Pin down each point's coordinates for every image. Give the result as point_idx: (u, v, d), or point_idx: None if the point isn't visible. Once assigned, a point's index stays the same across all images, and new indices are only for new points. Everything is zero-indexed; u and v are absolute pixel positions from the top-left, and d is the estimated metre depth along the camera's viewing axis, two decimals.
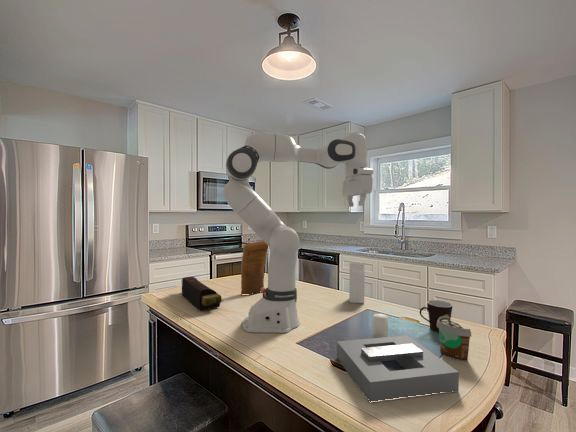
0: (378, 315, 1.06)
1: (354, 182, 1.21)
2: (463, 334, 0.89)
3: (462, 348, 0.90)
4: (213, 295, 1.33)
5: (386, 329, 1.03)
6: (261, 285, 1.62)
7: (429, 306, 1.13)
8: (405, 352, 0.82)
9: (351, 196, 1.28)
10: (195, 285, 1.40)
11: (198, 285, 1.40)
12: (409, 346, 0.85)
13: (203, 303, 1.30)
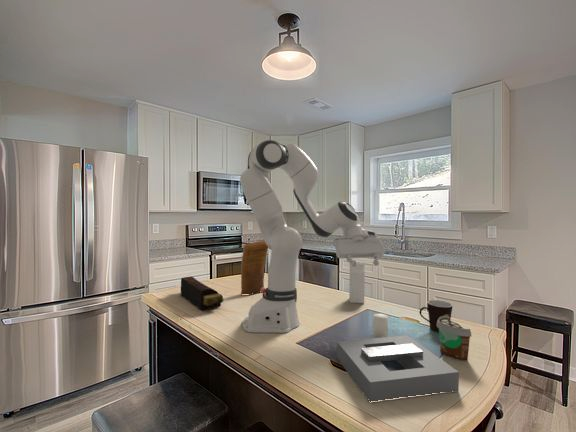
0: (378, 315, 1.06)
1: (363, 243, 1.23)
2: (463, 334, 0.89)
3: (462, 348, 0.90)
4: (214, 295, 1.33)
5: (386, 329, 1.03)
6: (261, 285, 1.62)
7: (429, 306, 1.13)
8: (405, 352, 0.82)
9: None
10: (195, 285, 1.40)
11: (199, 285, 1.40)
12: (409, 346, 0.85)
13: (205, 303, 1.30)
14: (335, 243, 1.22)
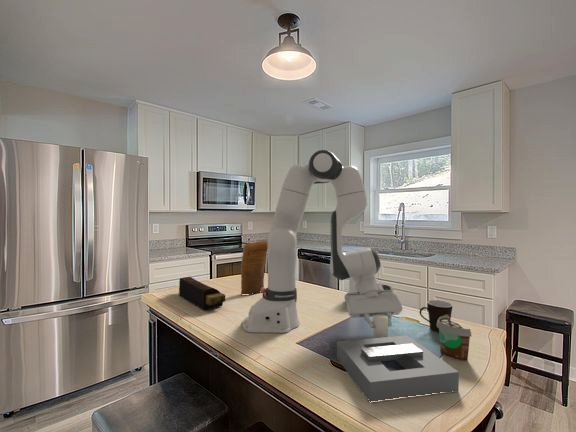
0: (378, 315, 1.06)
1: (377, 299, 1.10)
2: (463, 334, 0.89)
3: (462, 348, 0.90)
4: (217, 294, 1.34)
5: (386, 329, 1.03)
6: (261, 285, 1.62)
7: (429, 306, 1.13)
8: (405, 352, 0.82)
9: None
10: (197, 285, 1.41)
11: (200, 285, 1.40)
12: (409, 346, 0.85)
13: (208, 302, 1.31)
14: (347, 299, 1.10)
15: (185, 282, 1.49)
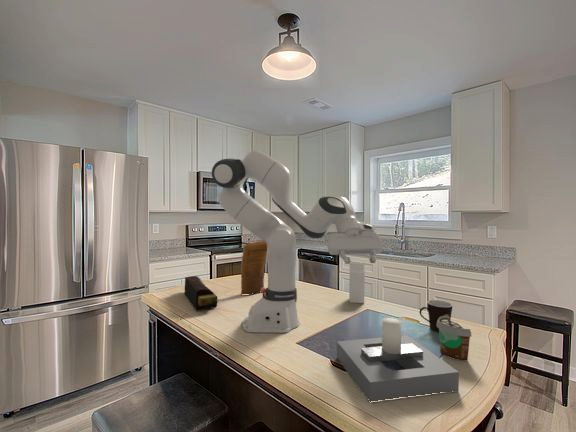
0: (388, 320, 0.83)
1: (358, 238, 1.08)
2: (463, 334, 0.89)
3: (462, 348, 0.90)
4: (209, 295, 1.32)
5: (399, 338, 0.81)
6: (261, 285, 1.62)
7: (429, 306, 1.13)
8: (405, 352, 0.82)
9: None
10: (194, 285, 1.41)
11: (196, 285, 1.40)
12: (409, 346, 0.85)
13: (199, 303, 1.30)
14: (327, 237, 1.08)
15: (187, 281, 1.51)
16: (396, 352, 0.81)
